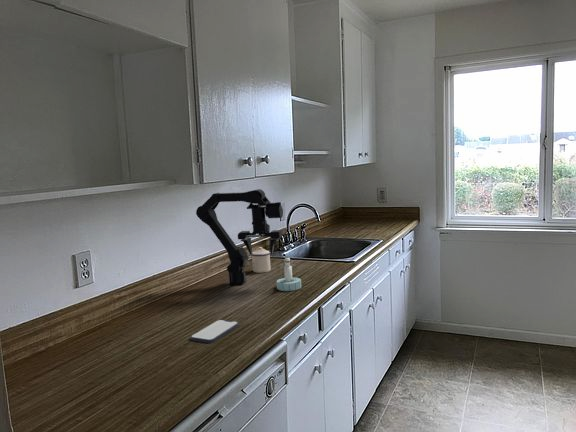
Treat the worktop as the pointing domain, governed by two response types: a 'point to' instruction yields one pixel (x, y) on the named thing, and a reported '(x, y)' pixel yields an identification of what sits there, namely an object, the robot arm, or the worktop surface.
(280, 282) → the pale blue segmented ring
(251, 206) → the robot arm
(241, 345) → the worktop surface
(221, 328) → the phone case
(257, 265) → the teacup with lid
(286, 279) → the white rounded peg
